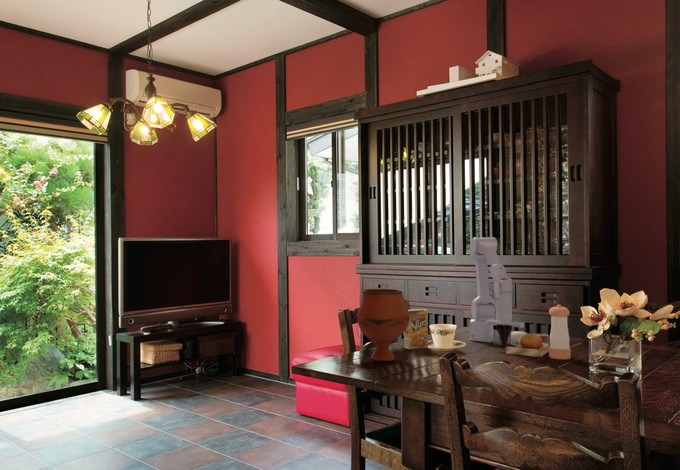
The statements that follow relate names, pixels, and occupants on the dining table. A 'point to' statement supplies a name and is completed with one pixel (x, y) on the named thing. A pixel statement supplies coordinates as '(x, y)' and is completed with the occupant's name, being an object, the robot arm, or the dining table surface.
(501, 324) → the robot arm
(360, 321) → the goblet
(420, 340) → the candy box
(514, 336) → the white block
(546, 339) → the walnut block
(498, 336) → the tin
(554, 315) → the salt shaker
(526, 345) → the fruit
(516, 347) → the tray
